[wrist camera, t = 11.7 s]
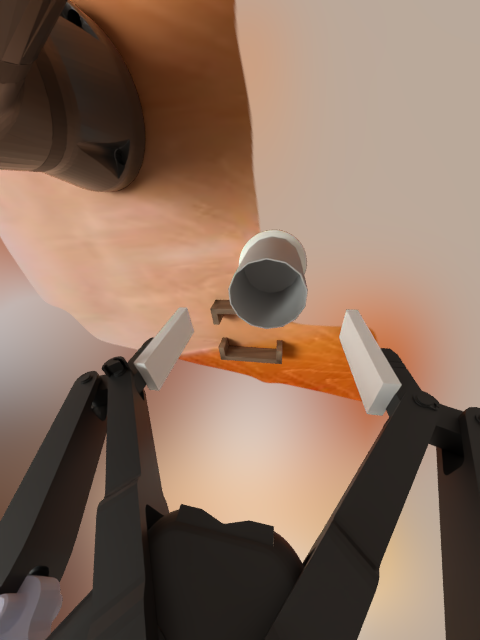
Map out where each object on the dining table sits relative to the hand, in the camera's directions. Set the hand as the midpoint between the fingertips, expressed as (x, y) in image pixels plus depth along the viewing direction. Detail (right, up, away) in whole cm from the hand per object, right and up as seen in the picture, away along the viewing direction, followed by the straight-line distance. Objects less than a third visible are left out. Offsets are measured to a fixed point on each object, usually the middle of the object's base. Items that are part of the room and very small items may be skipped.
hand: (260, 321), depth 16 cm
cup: (+3, +8, +12) cm, 15 cm away
